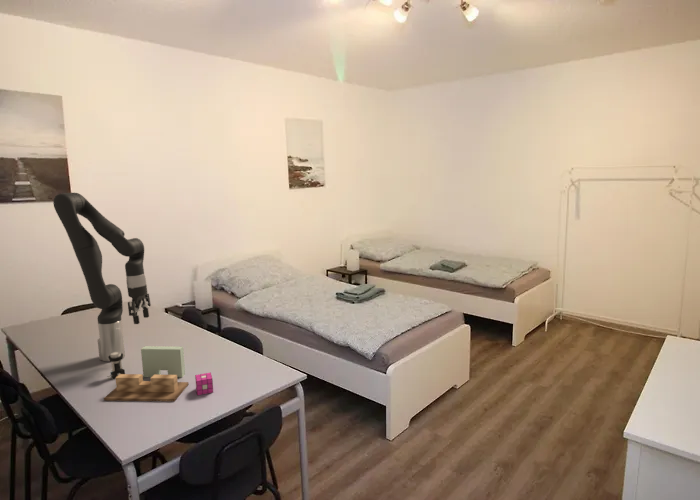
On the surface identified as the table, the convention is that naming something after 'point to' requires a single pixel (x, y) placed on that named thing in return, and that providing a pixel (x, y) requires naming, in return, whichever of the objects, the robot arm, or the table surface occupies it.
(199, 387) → the puzzle toy
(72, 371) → the table surface
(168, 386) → the oak slotted rail
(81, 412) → the table surface
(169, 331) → the table surface
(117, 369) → the push button
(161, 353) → the sage slotted plate
